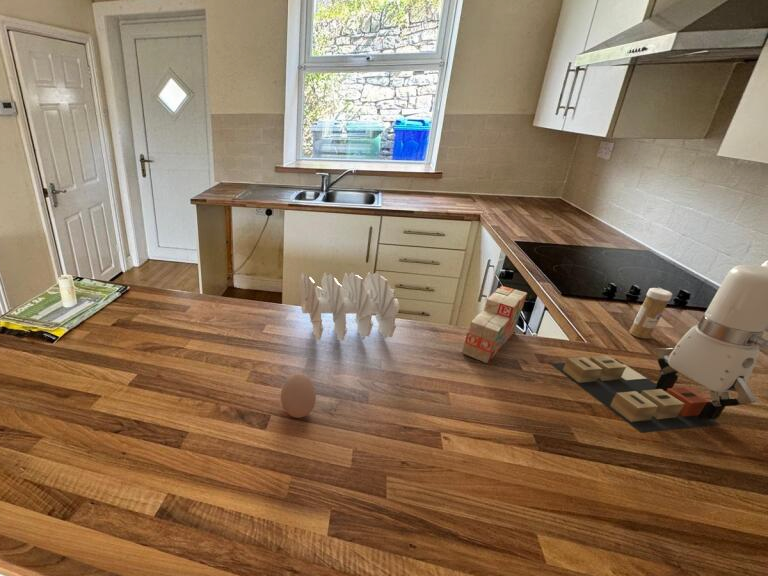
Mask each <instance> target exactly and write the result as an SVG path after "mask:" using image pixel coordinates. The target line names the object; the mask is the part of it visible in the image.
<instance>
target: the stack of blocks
mask: <svg viewBox="0 0 768 576" xmlns="http://www.w3.org/2000/svg"><path fill="white" fill-rule="evenodd" d="M527 296H528V292H525V291H522V290H519V289H517V288H516V289H515V288H511V287H508V286H504V285H501V286H500V287H498V288H497V289H496V290H495V291H494V292H493V293H491V294H490V296H488V298H487V299H486V302H485V305H484V308H483V310H482V311H481V312H480V313H478V314H477V315H476V316H475V317H474V318H473V320H471V321H470V324H469V328H468V332H466V336H465V340H464V343H463V344H464V345H463V347H462V350H461V354H464V355H465V356H468V357H471V358H473V359H476V360H478V361H481V362H482V363H485V364H488V363H489V362H490V361H491V359H493V358H494V356H495V355H496V354H497V353H498V352H499V351H500V349H501V348H502V347H503V346H504V345H505V343H506V342H507V341H508V340H509V339H510V338H511V337H512V336H513V335H514V333H515V332H516V329H517V326H518V322H519V318H520V316H521V313H522V311H523V308H524V305H525V302H526V299H527ZM498 350H499V351H498Z"/></svg>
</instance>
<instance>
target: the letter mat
mask: <svg viewBox="0 0 768 576" xmlns="http://www.w3.org/2000/svg"><path fill="white" fill-rule="evenodd" d="M613 359H614V360H616V361H618V362H619V363H621V364H622V365H624V366H626V368H625V370H624V372H623V374H622V376H621V378H620V379H619V380H607V381H602V380H601V379H599V378H598V379H597V381H594V382H582V383H578V382H577V381H576V380H574V379H573V378H572V377H570V376H569V375H568V374H566V373H565V372H564V371H563V368H564V366H565V363H566V362H557V363H550V365H551V366H552V367H553V368H555V369H556V370H557V371H559V372H560V373H561V374H563V375H564V376H566V378H568V379H570V381H572V382H573V383H575V384H576V386H579V387H580V388H581V389H582V390H584V391H585V392H586V393H588V394H589V395H590V396H592V397H593V398H594V399H596V400H597V401H598V402H600V403H601V404H602V405H603V406H605V407H607V409H608V410H610V411H611V412H613V413H614V414H615V415H616V416H618V417H620V418H621V419H622V420H624V421H625V422H626V423H627V424H629V425H630V426H631V427H633V428H634V429H635V430H637V431H638V432H639V433H641V434H643V433H653V432H654V433H655V432H664V431H672V430H684V429H693V428H694V429H695V428H704V427H715V426H722V424H721V423H719V422H718V421H716V420H715V419H710V420H700V419H699V418H698V415H696V416H685V417H683V416H681V415H680V414H678V416H677V417H675V418H665V419H656V418H655V417H653V416H652V418H651V420H644V421H633V422H630V421H629V420H628V419H626V418H625V417H624V416H622V415H621V414H620V413H618V412H617V411H616V410H614V409H613V408H612V407H610V405H611V403H612V401H613V399H614V397H615V395H616V393H620V392H632V391H636V392H638V393H639V394H641V392H642V391H644V390H655V388H656V386H657V383H655V382H654V381H652V380H651V379H649V378H648V377H646V376H644V375H643V374H641V373H640V372H638V371H636V370H635V369H633V368H631V367H629V366H628V365H627V364H625V363H623V362H622V361H621V360H619V359H617V358H613Z"/></svg>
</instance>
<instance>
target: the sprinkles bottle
mask: <svg viewBox="0 0 768 576" xmlns="http://www.w3.org/2000/svg"><path fill="white" fill-rule="evenodd" d="M672 297H673V293H672V292H671V291H669V290H667V289H664V288H659V287H650V288H649V289H648V290H647V292H646V296H645V299H644V301H643V303H642V304H641V306H640V308H639V310H638V313H637V314H636V316H635V318H634V320H633V324H632V325H631V328H630V329H629V330H628V332H629V334H630V335H632V336H633V337H635V338H638V339H644V340H649V339H651V338H652V334H653V332H654V330H655V328H656V327H657V325H658V323H659V321H660V319H661V317H662V315H663V313H664V310H665V308H666V306H667V304H668V303H669V302H670V301H671V299H672Z"/></svg>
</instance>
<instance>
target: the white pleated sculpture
mask: <svg viewBox="0 0 768 576" xmlns="http://www.w3.org/2000/svg"><path fill="white" fill-rule="evenodd" d="M298 279H299V280H298V288H299V295H300V300H301V301H300V302H301V303H300V304H301V307H300V308H301V312H302V314H309V318H310V319H309V320H310V323H311V324H312V334H313V335H314V340H315V341H321V339H322V335H323V331H324V327H323V323H322V322H323V319H322V314H332V322H333V323H334V325H333V331H334V332H335V334H336V340H337V341H339V340H340V341H342V342H343V341H344V340H345V337H346V334H347V332H348V328H347V319H346V318H347V314H351V315H352V314H353V315H354V314H355V318H354V320H355V323H356V326H357V331H356V332H357V334H359V335H361V339H362V340H365V339H366V338H367V337H370V335H371V332H372V329H373V326H374V323H373V321H372V318H373V317H372V316H373V315H375V319H376V322H377V324H378V327H377V332H380V333H381V334H382V337H383V339H387V338H392V337H393V334H394V332H395V330H396V328H397V324H396V317H397V316H396V315H397V314H398V313H399V311H400V302H399V300H398V299H397V298H396V289H393V288H392V287H391V285H390V284H388V282H389V281H388V279H386V278H385V277H384V276H382V275H380V271H376V272H374V273H372V274H371V271H368V272H367V274H366V276H365V278H363V277H361V276H359V275H358V274H356V270H353V271H352V272H350V273H349V274H348V272H345V273H344V275H343V278H342V281H341V284H340V283H339V281H338V280H337V278H335V274H334V273H331V274H328V273H327V272H324V273H323V275H322V278H321V281H320V284H321V287H320V286H316V282H315V281H314V279H313V278H312V277H311V276H310V272H308V273H305V275H304V273H303V272H300V276H299V278H298Z"/></svg>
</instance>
